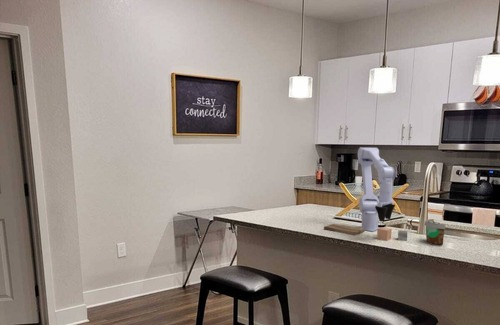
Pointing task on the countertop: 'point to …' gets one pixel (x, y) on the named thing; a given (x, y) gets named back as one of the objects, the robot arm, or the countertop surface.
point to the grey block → (402, 235)
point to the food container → (434, 232)
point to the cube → (384, 233)
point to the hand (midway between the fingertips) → (384, 220)
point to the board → (344, 229)
